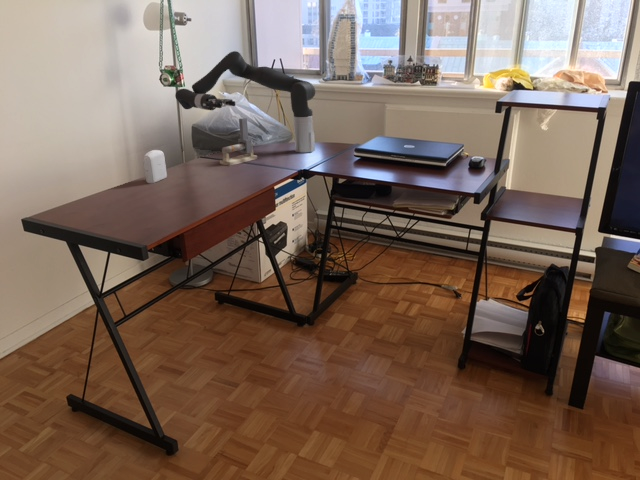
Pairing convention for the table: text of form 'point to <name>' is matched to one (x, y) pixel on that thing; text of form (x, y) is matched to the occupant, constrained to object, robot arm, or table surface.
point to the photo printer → (154, 166)
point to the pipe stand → (236, 159)
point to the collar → (244, 136)
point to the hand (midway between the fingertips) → (228, 104)
